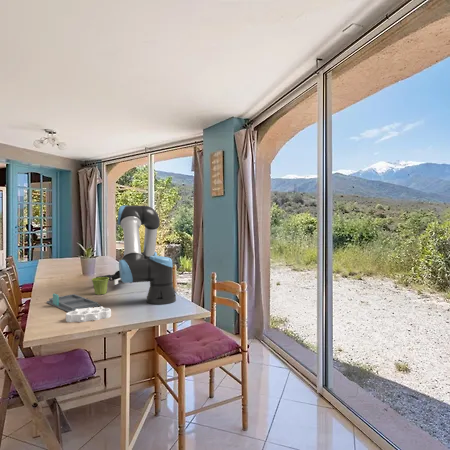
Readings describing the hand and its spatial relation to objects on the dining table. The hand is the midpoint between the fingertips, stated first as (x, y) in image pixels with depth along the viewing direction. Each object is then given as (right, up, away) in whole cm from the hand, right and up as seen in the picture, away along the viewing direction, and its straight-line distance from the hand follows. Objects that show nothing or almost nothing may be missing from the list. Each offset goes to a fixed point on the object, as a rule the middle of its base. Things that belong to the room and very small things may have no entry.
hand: (103, 282), depth 190 cm
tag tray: (-6, -7, -27) cm, 28 cm away
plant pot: (0, -6, -4) cm, 7 cm away
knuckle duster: (+11, -8, -47) cm, 49 cm away
